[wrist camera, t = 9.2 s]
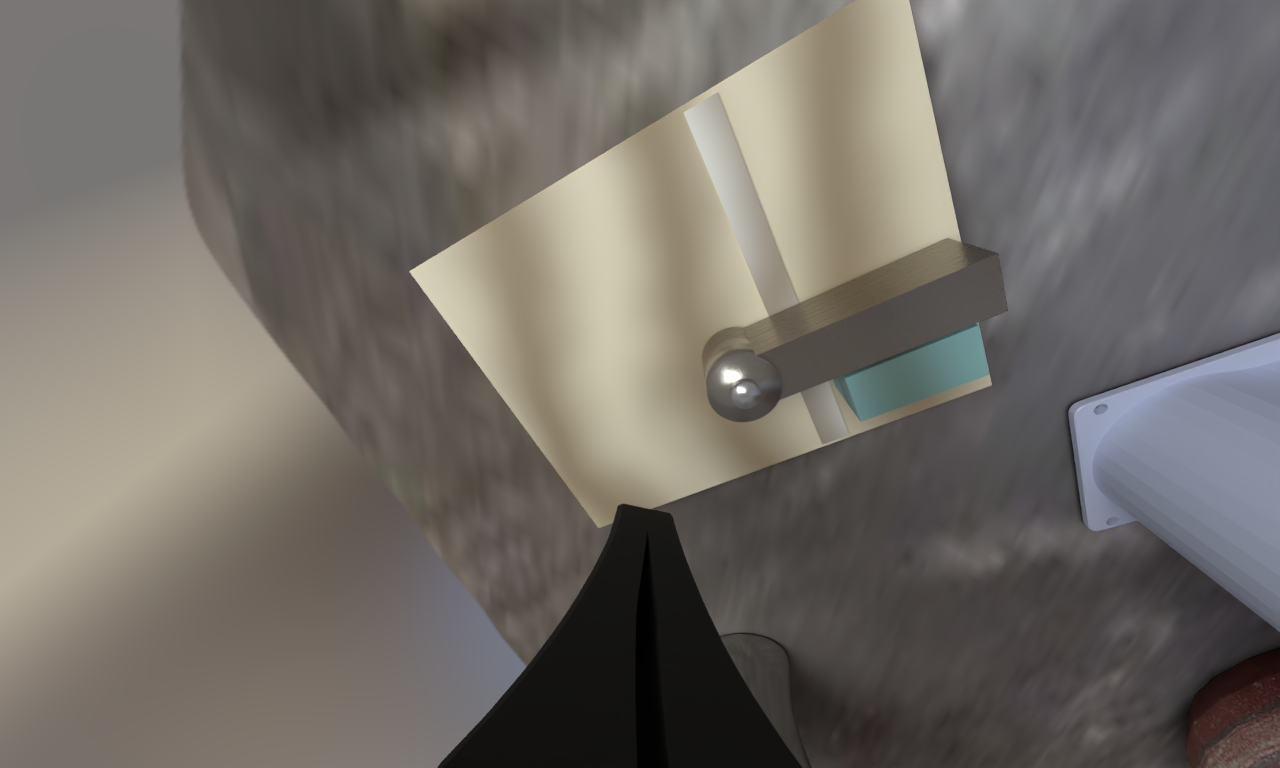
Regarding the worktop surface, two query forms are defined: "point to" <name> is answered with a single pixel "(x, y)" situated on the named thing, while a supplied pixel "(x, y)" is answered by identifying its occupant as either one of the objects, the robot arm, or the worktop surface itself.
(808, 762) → the beer glass
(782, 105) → the board
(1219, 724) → the pottery
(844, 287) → the swing bar
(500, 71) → the worktop surface
